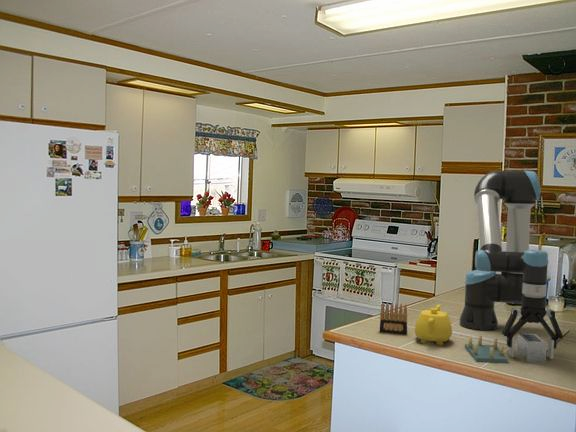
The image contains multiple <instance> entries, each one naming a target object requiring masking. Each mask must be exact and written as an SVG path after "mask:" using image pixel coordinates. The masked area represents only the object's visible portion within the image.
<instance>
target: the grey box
mask: <svg viewBox="0 0 576 432" xmlns="http://www.w3.org/2000/svg"><path fill="white" fill-rule="evenodd" d="M516 339H517V340H516V342H517V343H516V353H517V354H518V355H519V357H521V358H522V359H523V361H525V362H526V363H527V364H528V363H530V364H547V363H546V361H547V346H548V342H546V341H545V340H544V339H542V338H541V337H540V336H539V335H537V333H527V332H526V333H522V332H517V338H516Z"/></svg>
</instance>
